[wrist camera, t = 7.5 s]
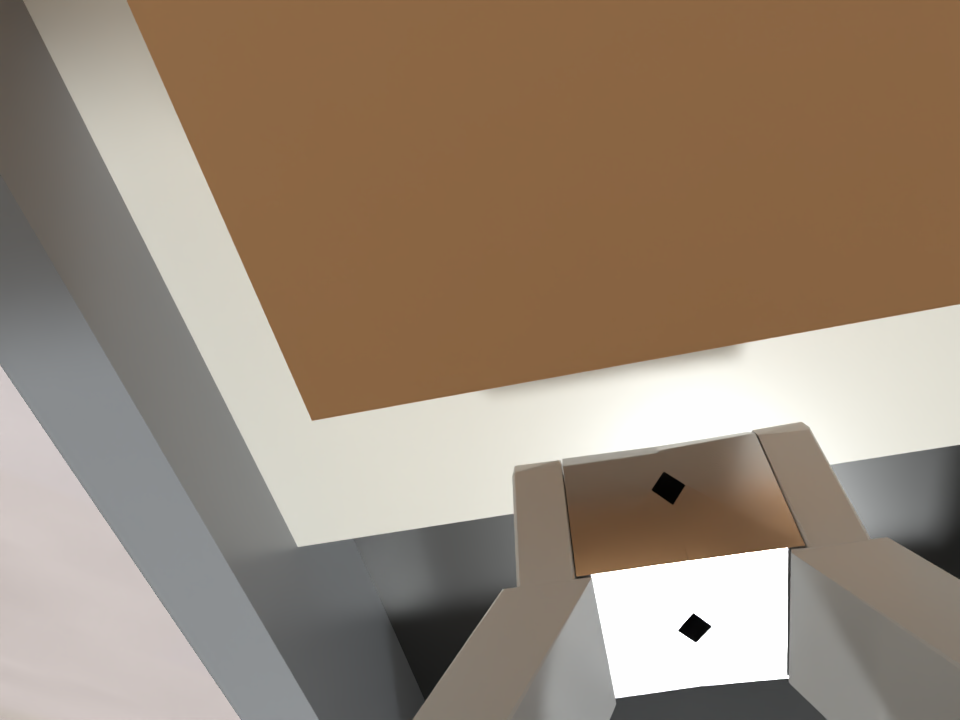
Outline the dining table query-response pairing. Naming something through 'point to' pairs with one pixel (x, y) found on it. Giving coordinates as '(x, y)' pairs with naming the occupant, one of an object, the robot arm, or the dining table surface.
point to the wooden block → (566, 176)
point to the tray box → (365, 435)
